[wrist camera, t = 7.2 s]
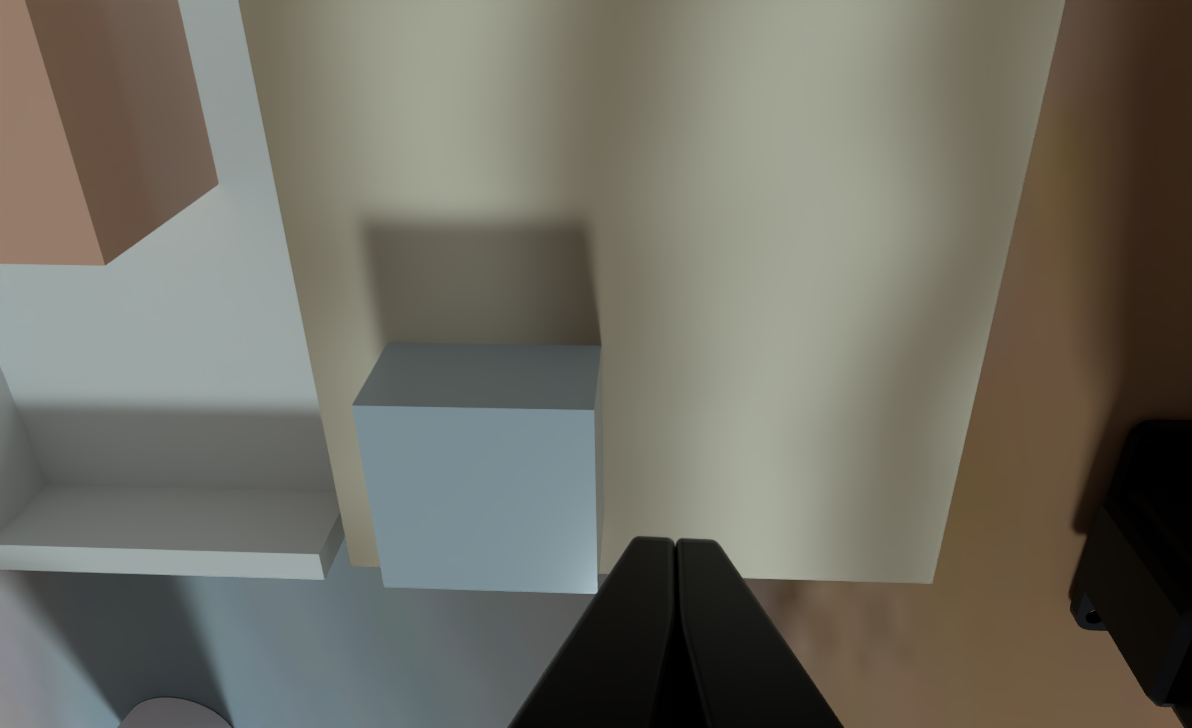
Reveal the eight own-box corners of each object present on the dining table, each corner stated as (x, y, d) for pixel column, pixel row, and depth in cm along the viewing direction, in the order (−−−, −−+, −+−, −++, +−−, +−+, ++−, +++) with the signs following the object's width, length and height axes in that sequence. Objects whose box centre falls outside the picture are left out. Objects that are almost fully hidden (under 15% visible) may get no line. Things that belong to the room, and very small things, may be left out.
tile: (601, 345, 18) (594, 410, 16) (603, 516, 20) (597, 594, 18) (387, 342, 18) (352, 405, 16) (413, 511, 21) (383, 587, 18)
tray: (243, -135, 16) (166, -135, 14) (360, 501, 24) (324, 579, 21) (-209, -126, 17) (-365, -125, 14) (42, 493, 24) (-32, 568, 22)
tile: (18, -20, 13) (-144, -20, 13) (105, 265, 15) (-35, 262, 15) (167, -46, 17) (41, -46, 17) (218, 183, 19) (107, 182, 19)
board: (1038, -149, 16) (1100, -153, 13) (906, 515, 23) (932, 583, 21) (270, -135, 16) (210, -136, 14) (379, 502, 24) (351, 565, 22)
